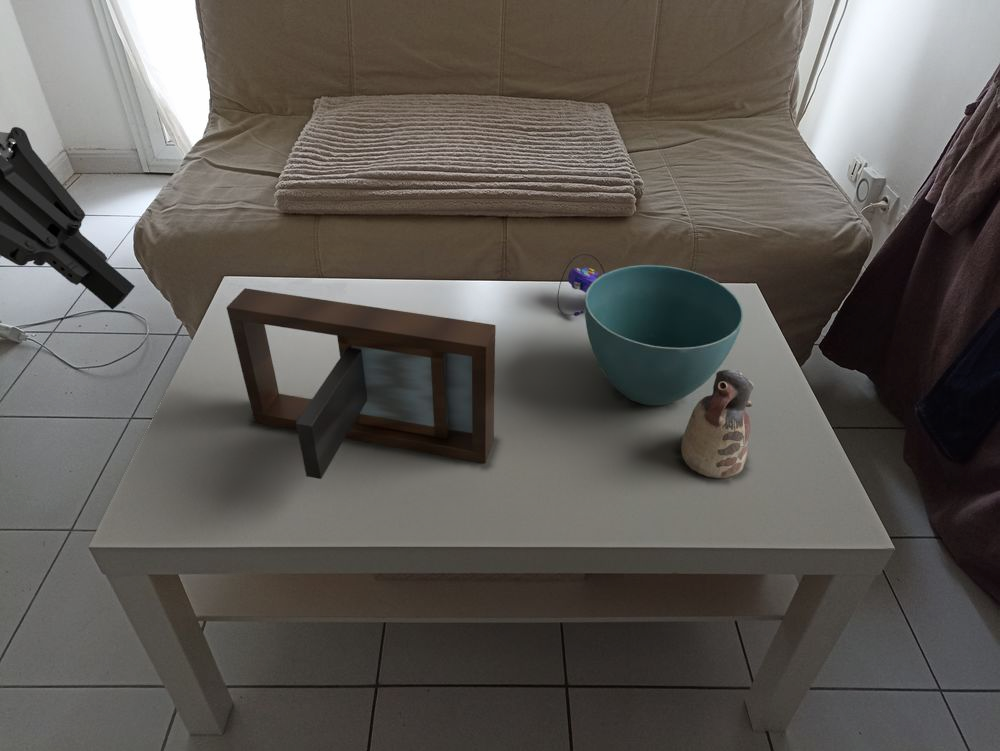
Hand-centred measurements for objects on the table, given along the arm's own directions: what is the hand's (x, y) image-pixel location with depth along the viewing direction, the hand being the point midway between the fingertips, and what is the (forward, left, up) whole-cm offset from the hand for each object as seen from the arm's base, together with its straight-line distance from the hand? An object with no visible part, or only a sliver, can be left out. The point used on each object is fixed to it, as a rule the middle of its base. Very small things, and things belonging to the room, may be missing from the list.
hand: (123, 297), depth 68 cm
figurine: (+45, -38, -22) cm, 63 cm away
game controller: (+58, -9, -22) cm, 63 cm away
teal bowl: (+50, -25, -22) cm, 60 cm away
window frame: (+19, -9, -22) cm, 30 cm away
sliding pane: (+15, -15, -20) cm, 30 cm away
